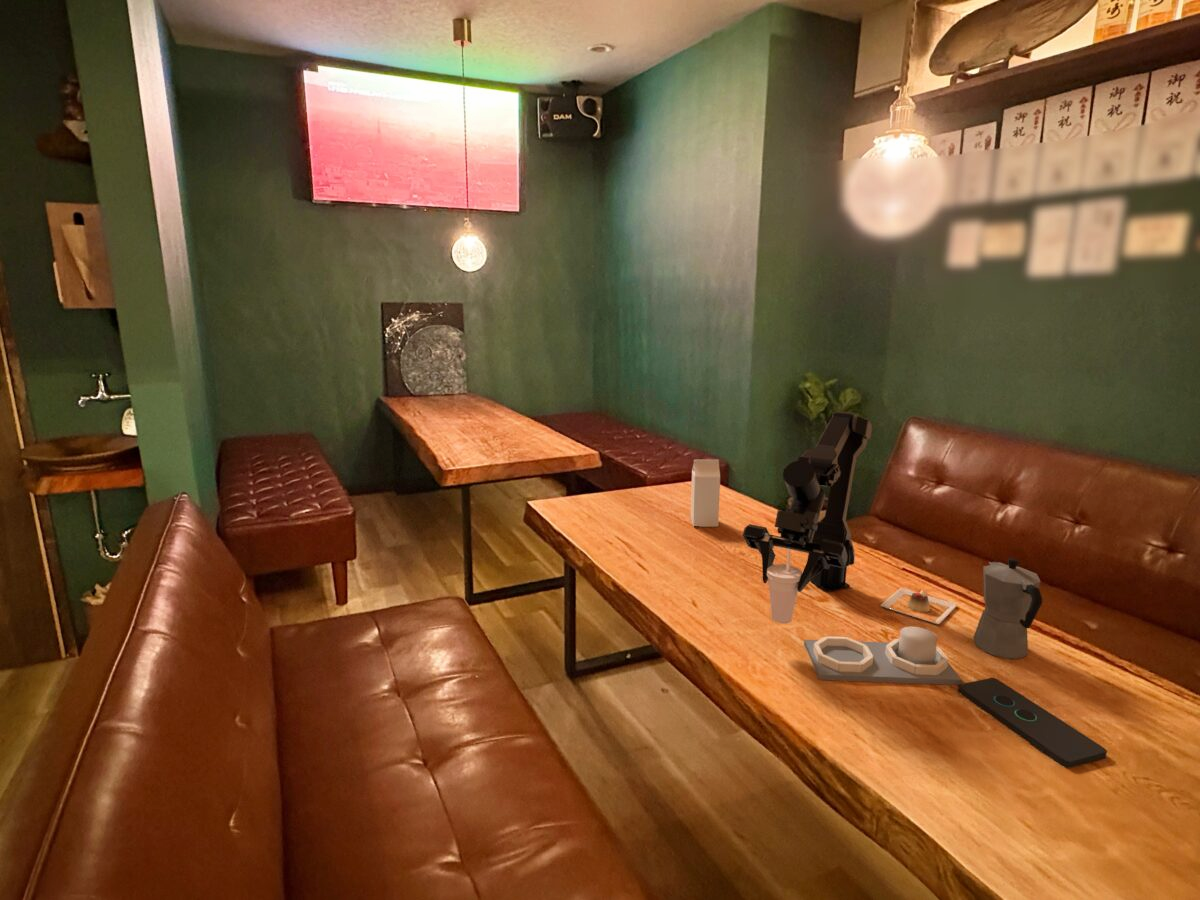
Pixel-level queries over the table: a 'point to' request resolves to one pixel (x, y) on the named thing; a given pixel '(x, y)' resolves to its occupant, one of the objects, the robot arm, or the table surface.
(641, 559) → the table surface
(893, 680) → the board
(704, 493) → the milk carton
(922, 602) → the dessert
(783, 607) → the smoothie
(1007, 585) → the coffeepot
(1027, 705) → the smart home device
